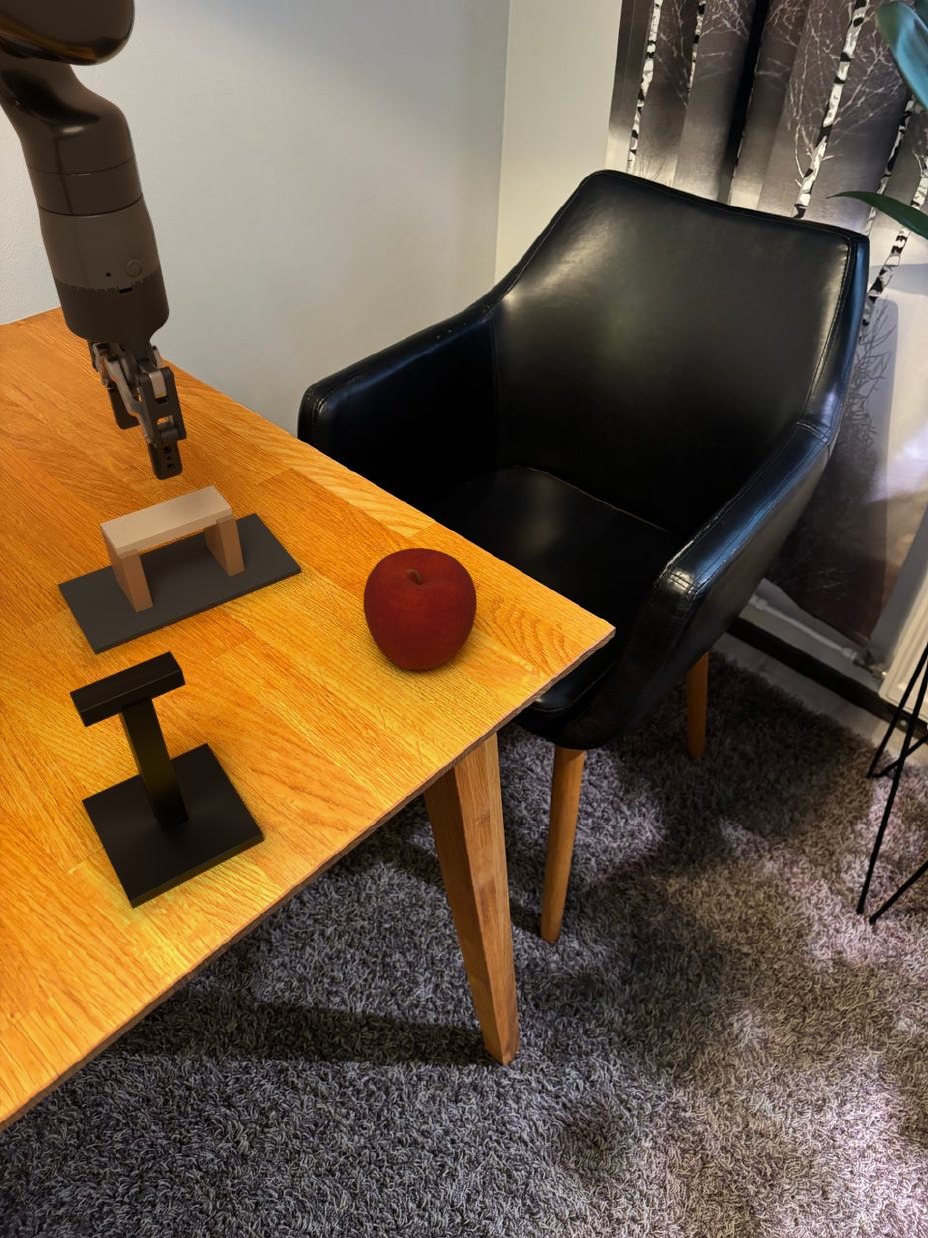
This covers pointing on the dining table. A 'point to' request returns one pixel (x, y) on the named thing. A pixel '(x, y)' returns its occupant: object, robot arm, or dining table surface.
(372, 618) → the apple
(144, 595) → the beige wooden bench
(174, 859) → the stand
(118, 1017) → the dining table surface
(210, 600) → the mat
